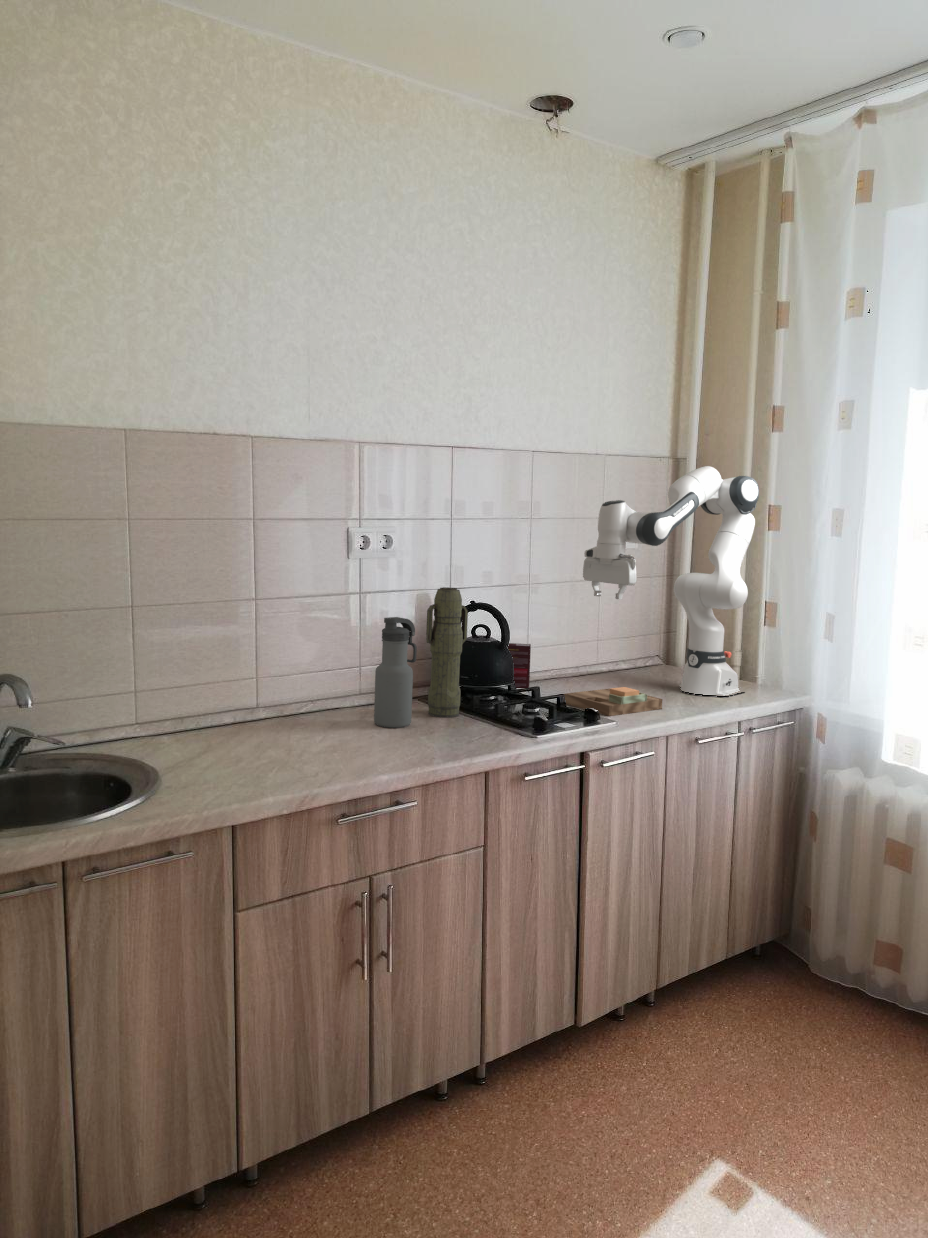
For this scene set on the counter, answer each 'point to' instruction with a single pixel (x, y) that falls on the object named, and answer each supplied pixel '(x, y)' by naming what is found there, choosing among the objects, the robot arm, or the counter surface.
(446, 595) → the thermos
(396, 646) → the water bottle
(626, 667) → the counter surface
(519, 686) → the supplement box
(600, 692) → the board
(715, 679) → the robot arm
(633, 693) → the block
